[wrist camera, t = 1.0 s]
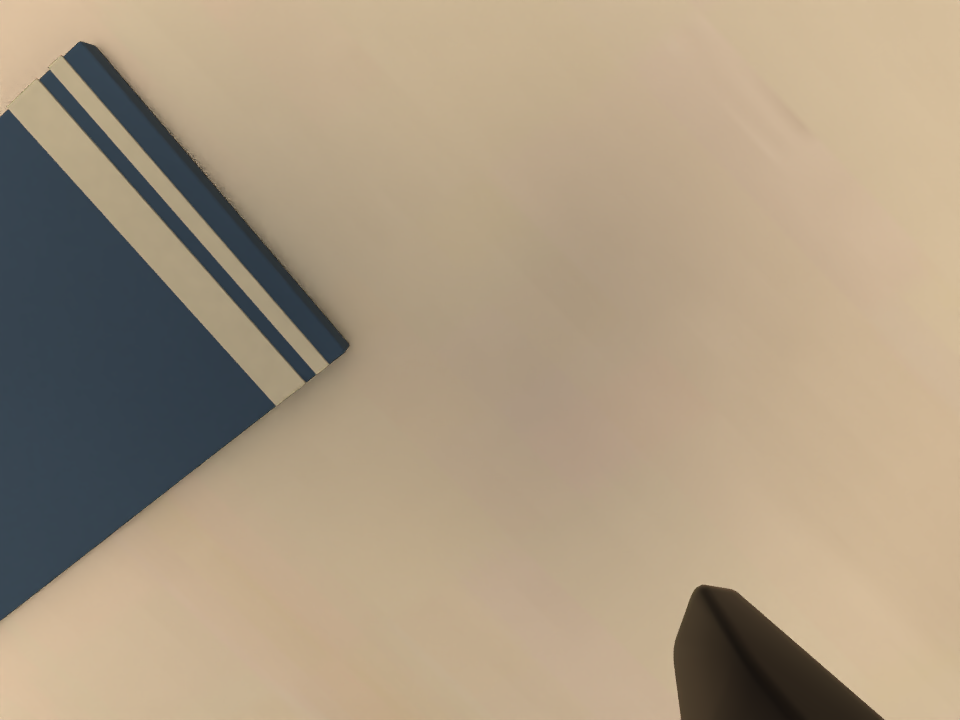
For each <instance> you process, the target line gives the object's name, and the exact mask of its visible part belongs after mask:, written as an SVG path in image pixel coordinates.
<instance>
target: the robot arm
mask: <svg viewBox="0 0 960 720" xmlns="http://www.w3.org/2000/svg"><path fill="white" fill-rule="evenodd" d="M674 668H675V676H676V684H677V691H678V699H679V707H680V714H681V720H884V719H883V718H882V717H881V716H880V715H878V714H877V713H876V712H875V711H874V710H873V709H872V708H870V707H869V706H868V705H867V704H866V703H865V702H863V701H862V700H861V699H860V698H859V697H858V696H857V695H855V694H854V693H853V692H852V691H851V690H850V689H848V688H847V687H846V686H845V685H844V684H843V683H842V682H840V681H839V680H838V679H837V678H836V677H835V676H833V675H832V674H831V673H830V672H829V671H828V670H827V669H825V668H824V667H823V666H822V665H821V664H820V663H818V662H817V661H816V660H815V659H814V658H813V657H812V656H810V655H809V654H808V653H807V652H806V651H805V650H803V649H802V648H801V647H800V646H799V645H798V644H797V643H795V642H794V641H793V640H792V639H791V638H790V637H788V636H787V635H786V634H785V633H784V632H783V631H782V630H780V629H779V628H778V627H777V626H776V625H775V624H773V623H772V622H771V621H770V620H769V619H768V618H767V617H765V616H764V615H763V614H762V613H761V612H760V611H758V610H757V609H756V608H755V607H754V606H753V605H751V604H750V603H749V602H748V601H747V600H746V599H745V598H743V597H742V596H741V595H740V594H739V593H737V592H736V591H734V590H732V589H727V588H721V587H715V586H708V585H701V586H699V587H697V588H696V589H695V590H694V592H693V593H692V595H691V598H690V601H689V604H688V606H687V609H686V612H685V615H684V617H683V620H682V623H681V626H680V628H679V631H678V634H677V637H676V640H675V645H674Z"/></svg>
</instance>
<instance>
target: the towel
mask: <svg viewBox="0 0 960 720" xmlns="http://www.w3.org/2000/svg"><path fill="white" fill-rule="evenodd" d="M48 68H49V69H50V70H49V71H48V72H47V73H46V74H45V75H44V76H43V77H42V78H41V79H35V80H34V81H33V82H32V83H31V84H30V85H29V86H28V87H27V88H26V89H25V90H24V91H23V92H22V93H21V94H20V95H19V96H18V97H17V98H15V99H14V100H13V101H12V102H11V103H10V104H9V105H8V106H7V108H8V110H7V111H6V112H5V113H4V114H3V115H2V116H1V117H0V621H1V620H2V619H3V618H5V617H6V616H7V615H8V614H10V613H11V612H12V611H13V610H15V609H16V608H17V607H19V606H20V605H21V604H22V603H24V602H25V601H26V600H28V599H29V598H30V597H31V596H33V595H34V594H35V593H37V592H38V591H39V590H40V589H42V588H43V587H44V586H46V585H47V584H48V583H49V582H51V581H52V580H53V579H55V578H56V577H57V576H58V575H60V574H61V573H62V572H64V571H65V570H66V569H67V568H69V567H70V566H71V565H73V564H74V563H75V562H76V561H78V560H79V559H80V558H81V557H83V556H84V555H85V554H87V553H88V552H89V551H90V550H92V549H93V548H94V547H96V546H97V545H98V544H99V543H101V542H102V541H103V540H105V539H106V538H107V537H108V536H110V535H111V534H112V533H114V532H115V531H116V530H117V529H119V528H120V527H121V526H123V525H124V524H125V523H126V522H128V521H129V520H130V519H132V518H133V517H134V516H135V515H137V514H138V513H139V512H141V511H142V510H143V509H144V508H146V507H147V506H148V505H149V504H151V503H152V502H153V501H155V500H156V499H157V498H158V497H160V496H161V495H162V494H164V493H165V492H166V491H167V490H169V489H170V488H171V487H173V486H174V485H175V484H176V483H178V482H179V481H180V480H182V479H183V478H184V477H185V476H187V475H188V474H189V473H191V472H192V471H193V470H194V469H196V468H197V467H198V466H200V465H201V464H202V463H203V462H205V461H206V460H207V459H209V458H210V457H211V456H212V455H214V454H215V453H216V452H217V451H219V450H220V449H221V448H223V447H224V446H225V445H226V444H228V443H229V442H230V441H232V440H233V439H234V438H235V437H237V436H238V435H239V434H241V433H242V432H243V431H244V430H246V429H247V428H248V427H250V426H251V425H252V424H253V423H255V422H256V421H257V420H259V419H260V418H261V417H262V416H264V415H265V414H266V413H268V412H269V411H270V410H271V409H273V408H274V407H275V406H277V405H279V404H280V403H281V402H282V401H284V400H285V399H286V398H288V397H289V396H290V395H291V394H293V393H294V392H295V391H297V390H298V389H299V388H300V387H302V386H303V385H304V384H305V383H306V382H307V381H309V380H310V379H311V378H312V377H314V376H315V375H317V374H318V373H320V372H321V371H322V370H323V369H325V368H326V367H327V366H329V364H330V363H332V362H333V361H334V360H336V359H337V358H338V357H339V356H341V355H342V354H343V353H345V351H346V350H347V348H348V347H349V344H348V343H347V341H346V340H345V339H344V338H343V337H342V335H341V334H340V333H339V332H338V331H337V330H336V328H335V327H334V326H333V325H332V324H331V323H330V321H329V320H328V319H327V318H326V317H325V315H324V314H323V313H322V312H321V311H320V310H319V308H318V307H317V306H316V305H315V304H314V303H313V301H312V300H311V299H310V298H309V297H308V296H307V294H306V293H305V292H304V291H303V290H302V288H301V287H300V286H299V285H298V284H297V283H296V281H295V280H294V279H293V278H292V277H291V276H290V274H289V273H288V272H287V271H286V270H285V268H284V267H283V266H282V265H281V264H280V263H279V261H278V260H277V259H276V258H275V257H274V256H273V254H272V253H271V252H270V251H269V250H268V249H267V247H266V246H265V245H264V244H263V243H262V241H261V240H260V239H259V238H258V237H257V236H256V234H255V233H254V232H253V231H252V230H251V229H250V227H249V226H248V225H247V224H246V223H245V221H244V220H243V219H242V218H241V217H240V216H239V214H238V213H237V212H236V211H235V210H234V209H233V207H232V206H231V205H230V204H229V203H228V201H227V200H226V199H225V198H224V197H223V196H222V194H221V193H220V192H219V191H218V190H217V189H216V187H215V186H214V185H213V184H212V183H211V182H210V180H209V179H208V178H207V177H206V176H205V174H204V173H203V172H202V171H201V170H200V169H199V167H198V166H197V165H196V164H195V163H194V162H193V160H192V159H191V158H190V157H189V156H188V154H187V153H186V152H185V151H184V150H183V149H182V147H181V146H180V145H179V144H178V143H177V142H176V140H175V139H174V138H173V137H172V136H171V135H170V133H169V132H168V131H167V130H166V129H165V127H164V126H163V125H162V124H161V123H160V122H159V120H158V119H157V118H156V117H155V116H154V115H153V113H152V112H151V111H150V110H149V109H148V107H147V106H146V105H145V104H144V103H143V102H142V100H141V99H140V98H139V97H138V96H137V95H136V93H135V92H134V91H133V90H132V89H131V88H130V86H129V85H128V84H127V83H126V82H125V80H124V79H123V78H122V77H121V76H120V75H119V73H118V72H117V71H116V70H115V69H114V68H113V66H112V65H111V64H110V63H109V62H108V60H107V59H106V58H105V57H104V56H103V55H102V53H101V52H100V51H99V50H98V49H97V48H96V46H94V45H91V44H88V43H84V42H81V41H80V42H78V43H77V44H76V45H75V46H74V47H73V48H72V49H71V50H70V51H69V52H68V53H67V54H66V55H65V56H64V57H63V56H60V57H58V58H57V59H56V60H55V61H54V62H53V63H52V64H51V65H50V66H49V67H48Z"/></svg>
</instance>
